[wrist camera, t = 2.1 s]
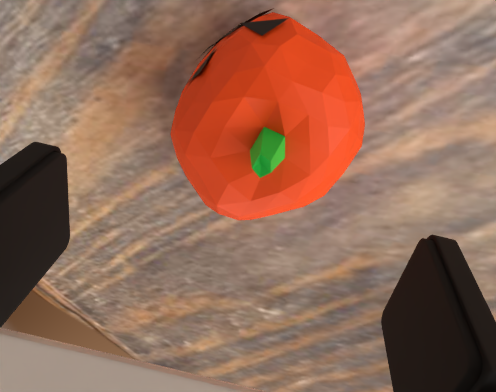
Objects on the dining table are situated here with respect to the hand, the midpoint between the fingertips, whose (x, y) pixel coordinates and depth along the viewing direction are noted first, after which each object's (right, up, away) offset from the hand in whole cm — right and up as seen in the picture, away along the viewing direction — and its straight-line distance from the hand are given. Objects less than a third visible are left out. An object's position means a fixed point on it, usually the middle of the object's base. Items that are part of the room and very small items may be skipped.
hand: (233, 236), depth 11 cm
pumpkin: (+1, +5, +8) cm, 9 cm away
